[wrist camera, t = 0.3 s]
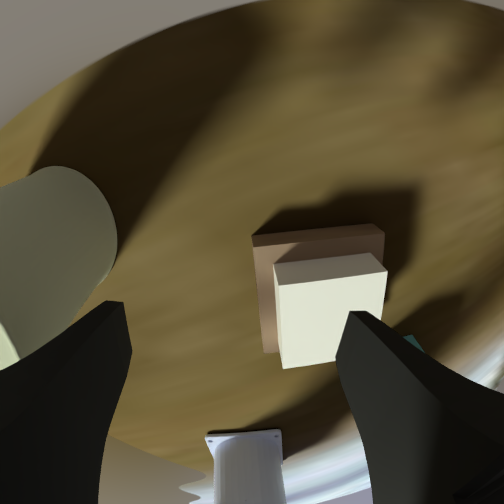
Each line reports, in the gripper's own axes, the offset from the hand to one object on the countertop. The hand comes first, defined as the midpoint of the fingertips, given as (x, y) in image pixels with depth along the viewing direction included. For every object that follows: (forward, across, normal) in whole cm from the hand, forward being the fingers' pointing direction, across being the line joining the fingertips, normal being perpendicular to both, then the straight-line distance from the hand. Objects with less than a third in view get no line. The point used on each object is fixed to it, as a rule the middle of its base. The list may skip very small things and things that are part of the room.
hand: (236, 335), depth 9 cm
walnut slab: (+11, -6, +4) cm, 13 cm away
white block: (+8, -6, +4) cm, 11 cm away
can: (+10, +12, +1) cm, 16 cm away
